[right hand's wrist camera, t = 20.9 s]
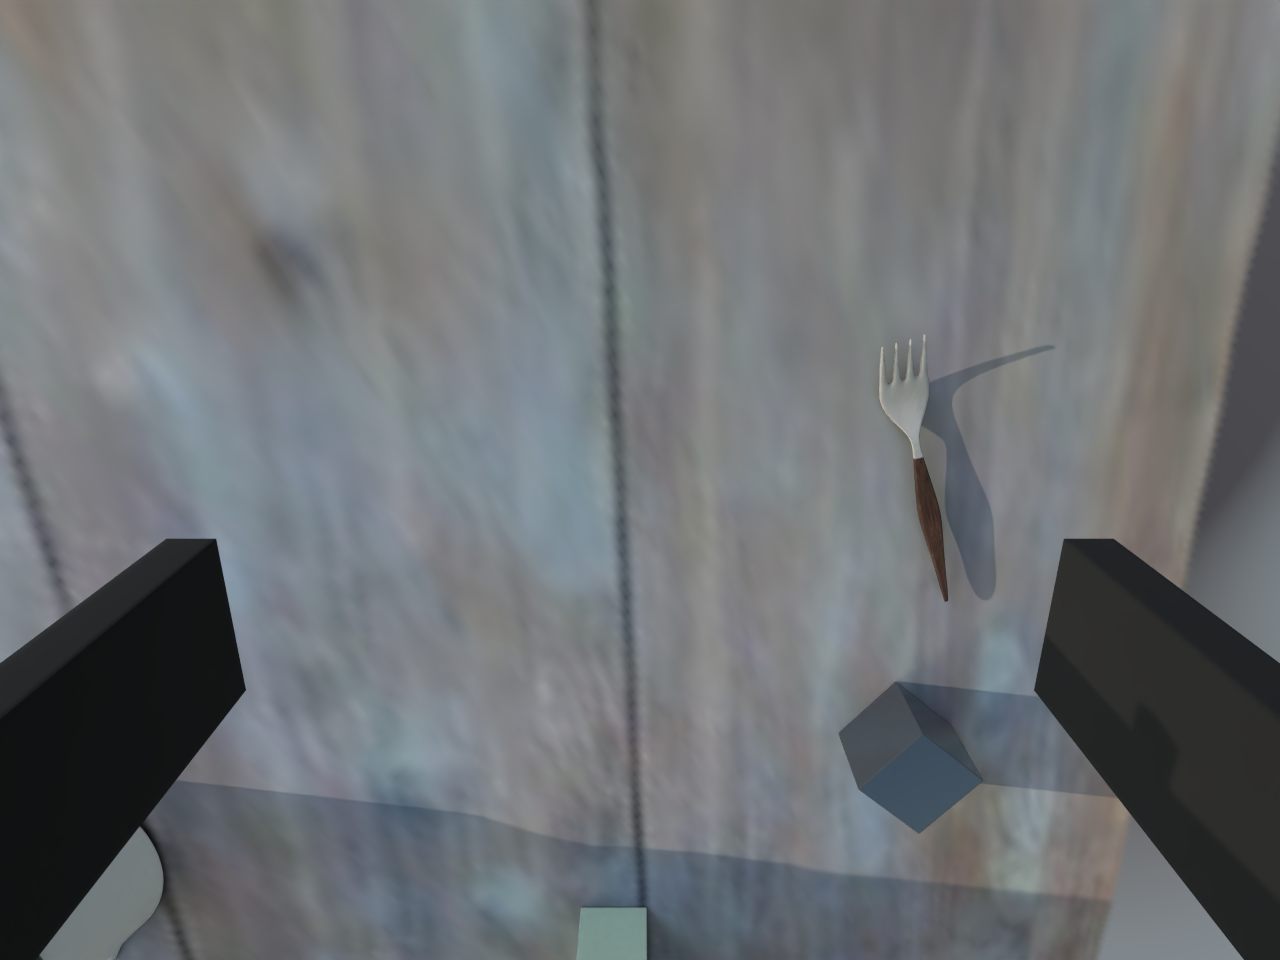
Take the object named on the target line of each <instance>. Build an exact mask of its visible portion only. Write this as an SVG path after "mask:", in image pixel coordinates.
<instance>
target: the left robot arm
mask: <svg viewBox="0 0 1280 960" xmlns="http://www.w3.org/2000/svg"><path fill="white" fill-rule="evenodd" d="M162 892H163V870H162V866H161V862H160V859H159V856H158V854H157V851H156V849H155V847H154V845H153V844H152V842H151V840H150V839H149V837H148V836H147V834H146V833H145V832H144V830H143V829H142V828H141V827H139V828H138V829H137V831H136V832H135V833H134V834H133V836H132V837H131V838H130V840H129V841H128V842H127V843H126V845H125V846H124V847H123V849H122V850H121V851H120V852H119V854H118V855H117V856H116V858H115V859H114V860H113V861H112V863H111V864H110V865H109V867H108V868H107V869H106V870H105V872H104V873H103V874H102V876H101V877H100V878H99V879H98V881H97V882H96V883H95V885H94V886H93V887H92V888H91V890H90V891H89V892H88V894H87V895H86V896H85V897H84V899H83V900H82V901H81V903H80V904H79V905H78V906H77V908H76V909H75V910H74V911H73V913H72V914H71V915H70V917H69V918H68V919H67V920H66V922H65V923H64V924H63V926H62V927H61V928H60V929H59V931H58V932H57V933H56V935H55V936H54V937H53V938H52V940H51V941H50V942H49V944H48V945H47V946H46V947H45V949H44V950H43V951H42V953H41V954H40V955H39V956H38V958H37V959H36V960H115V958H116V956H117V955H118V952H119V950H120V948H121V945H122V944H123V943H124V942H125V941H126V940H127V939H128V938H129V937H130V936H131V935H132V934H133V933H134V932H135V931H136V930H137V929H138V928H139V927H141V926H142V925H143V924H144V923H145V922H146V921H147V920H148V919H149V918H150V917H151V915H152V914H153V913H154V911H155V910H156V908H157V906H158V904H159V902H160V899H161V896H162Z"/></svg>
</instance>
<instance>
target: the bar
mask: <svg viewBox="0 0 1280 960" xmlns="http://www.w3.org/2000/svg"><path fill="white" fill-rule="evenodd" d="M577 960H647V908H646V907H630V908H581V912H580V925H579V937H578V949H577Z"/></svg>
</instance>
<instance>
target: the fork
mask: <svg viewBox="0 0 1280 960" xmlns="http://www.w3.org/2000/svg"><path fill="white" fill-rule="evenodd" d="M879 396H880V402H881V405H882V408H883V409H884V411H885V412H886V414H887V415H888V416H889V417H890V418H891V420H892V421H893V422H894V423H896V424H897V425H898V426H899V427H900V428H901V429H902V430H903V431H904V432H905V433H906V435H907V436H908V437H909V439H910V441H911V444H912V449H913V460H914V475H915V490H916V502H917V510H918V515H919V520H920V524H921V527H922V530H923V533H924V537H925V540H926V542H927V545H928V548H929V551H930V554H931V558H932V561H933V564H934V568H935V571H936V574H937V578H938V581H939V585H940V588H941V592H942V595H943V598H944V601H945V602H946V601H948V591H947V580H946V570H945V559H944V546H943V531H942V521H941V515H940V510H939V506H938V502H937V499H936V495H935V492H934V489H933V486H932V483H931V480H930V477H929V473H928V470H927V467H926V464H925V461H924V458H923V455H922V451H921V448H920V443H919V433H920V428H921V424H922V421H923V417H924V414H925V411H926V407H927V403H928V397H929V381H928V374H927V357H926V335H925V334H924V337H923V345H922V353H921V364H920V372H919V375H918V376H915V375H914V372H913V357H912V340H911V339H910V341H909V349H908V359H907V372H906V378H905V379H904V380H901V378H900V371H899V359H898V344H897V343H896V344H895V354H894V367H893V380H892V382H891V384H888V383H887V380H886V371H885V361H884V347H881V360H880V388H879Z"/></svg>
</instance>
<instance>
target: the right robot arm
mask: <svg viewBox="0 0 1280 960" xmlns="http://www.w3.org/2000/svg"><path fill="white" fill-rule="evenodd" d="M245 691H246V688H245V683H244V678H243V673H242V668H241V663H240V658H239V653H238V648H237V643H236V638H235V633H234V628H233V623H232V617H231V612H230V607H229V602H228V597H227V592H226V587H225V582H224V577H223V572H222V567H221V562H220V557H219V551H218V546H217V541H216V539H166V540H164V541H163V542H162V543H160V544H159V545H158V546H156V547H155V548H154V549H152V550H151V551H150V552H148V553H147V554H146V555H144V556H143V557H142V558H140V559H139V560H138V561H136V562H135V563H134V564H132V565H131V566H130V567H128V568H127V569H126V570H124V571H123V572H122V573H120V574H119V575H118V576H116V577H115V578H114V579H112V580H111V581H110V582H108V583H107V584H106V585H104V586H103V587H102V588H100V589H99V590H98V591H96V592H95V593H94V594H92V595H91V596H90V597H88V598H87V599H86V600H84V601H83V602H82V603H80V604H79V605H78V606H76V607H75V608H74V609H72V610H71V611H70V612H68V613H67V614H66V615H64V616H63V617H62V618H60V619H59V620H58V621H56V622H55V623H54V624H52V625H51V626H50V627H48V628H47V629H46V630H44V631H43V632H41V633H40V634H39V635H37V636H36V637H35V638H33V639H32V640H31V641H29V642H28V643H27V644H25V645H24V646H23V647H21V648H20V649H19V650H17V651H16V652H15V653H13V654H12V655H11V656H9V657H8V658H7V659H5V660H4V661H3V662H1V663H0V960H36V959H37V958H38V956H39V955H40V954H41V953H42V951H43V950H44V949H45V947H46V946H47V945H48V944H49V942H50V941H51V940H52V938H53V937H54V936H55V935H56V933H57V932H58V931H59V929H60V928H61V927H62V926H63V924H64V923H65V922H66V920H67V919H68V918H69V917H70V915H71V914H72V913H73V911H74V910H75V909H76V908H77V906H78V905H79V904H80V903H81V901H82V900H83V899H84V897H85V896H86V895H87V894H88V892H89V891H90V890H91V888H92V887H93V886H94V885H95V883H96V882H97V881H98V879H99V878H100V877H101V876H102V874H103V873H104V872H105V870H106V869H107V868H108V867H109V865H110V864H111V863H112V861H113V860H114V859H115V858H116V856H117V855H118V854H119V852H120V851H121V850H122V849H123V847H124V846H125V845H126V843H127V842H128V841H129V840H130V838H131V837H132V836H133V834H134V833H135V832H136V831H137V829H138V828H139V827H140V825H141V824H142V823H143V822H144V820H145V819H146V818H147V816H148V815H149V814H150V813H151V811H152V810H153V809H154V807H155V806H156V805H157V804H158V802H159V801H160V800H161V798H162V797H163V796H164V795H165V793H166V792H167V791H168V790H169V788H170V787H171V786H172V784H173V783H174V782H175V781H176V779H177V778H178V777H179V775H180V774H181V773H182V772H183V770H184V769H185V768H186V766H187V765H188V764H189V763H190V761H191V760H192V759H193V757H194V756H195V755H196V754H197V752H198V751H199V750H200V748H201V747H202V746H203V745H204V743H205V742H206V741H207V739H208V738H209V737H210V736H211V734H212V733H213V732H214V730H215V729H216V728H217V727H218V725H219V724H220V723H221V721H222V720H223V719H224V718H225V716H226V715H227V714H228V712H229V711H230V710H231V709H232V707H233V706H234V705H235V703H236V702H237V701H238V700H239V698H240V697H241V696H242V694H243V693H244V692H245ZM1034 691H1035V692H1036V693H1037V694H1038V696H1039V697H1040V698H1041V700H1042V701H1043V702H1044V703H1045V705H1046V706H1047V707H1048V709H1049V710H1050V711H1051V712H1052V714H1053V715H1054V716H1055V718H1056V719H1057V720H1058V721H1059V723H1060V724H1061V725H1062V727H1063V728H1064V729H1065V730H1066V732H1067V733H1068V734H1069V736H1070V737H1071V738H1072V739H1073V741H1074V742H1075V743H1076V745H1077V746H1078V747H1079V748H1080V750H1081V751H1082V752H1083V754H1084V755H1085V756H1086V757H1087V759H1088V760H1089V761H1090V763H1091V764H1092V765H1093V766H1094V768H1095V769H1096V770H1097V772H1098V773H1099V774H1100V775H1101V777H1102V778H1103V779H1104V781H1105V782H1106V783H1107V784H1108V786H1109V787H1110V788H1111V790H1112V791H1113V792H1114V793H1115V795H1116V796H1117V797H1118V798H1119V800H1120V801H1121V802H1122V804H1123V805H1124V806H1125V807H1126V809H1127V810H1128V811H1129V813H1130V814H1131V815H1132V816H1133V818H1134V819H1135V820H1136V822H1137V823H1138V824H1139V825H1140V827H1141V828H1142V829H1143V831H1144V832H1145V833H1146V834H1147V836H1148V837H1149V838H1150V840H1151V841H1152V842H1153V843H1154V845H1155V846H1156V847H1157V848H1158V850H1159V851H1160V852H1161V854H1162V855H1163V856H1164V858H1165V859H1166V860H1167V861H1168V863H1169V864H1170V865H1171V867H1172V868H1173V869H1174V870H1175V872H1176V873H1177V874H1178V876H1179V877H1180V878H1181V879H1182V881H1183V882H1184V883H1185V884H1186V886H1187V887H1188V888H1189V890H1190V891H1191V892H1192V893H1193V895H1194V896H1195V897H1196V899H1197V900H1198V901H1199V903H1200V904H1201V905H1202V906H1203V908H1204V909H1205V910H1206V911H1207V913H1208V914H1209V915H1210V917H1211V918H1212V919H1213V920H1214V922H1215V923H1216V924H1217V926H1218V927H1219V928H1220V929H1221V931H1222V932H1223V933H1224V935H1225V936H1226V937H1227V938H1228V940H1229V941H1230V942H1231V944H1232V945H1233V946H1234V947H1235V949H1236V950H1237V951H1238V953H1239V954H1240V955H1241V956H1242V958H1243V959H1244V960H1280V663H1278V662H1277V661H1276V660H1275V659H1273V658H1272V657H1271V656H1269V655H1268V654H1266V653H1265V652H1264V651H1262V650H1261V649H1260V648H1259V647H1257V646H1256V645H1254V644H1253V643H1252V642H1251V641H1249V640H1248V639H1246V638H1245V637H1244V636H1242V635H1241V634H1240V633H1238V632H1237V631H1236V630H1234V629H1233V628H1232V627H1230V626H1229V625H1228V624H1226V623H1225V622H1224V621H1222V620H1221V619H1220V618H1218V617H1217V616H1216V615H1214V614H1213V613H1212V612H1210V611H1209V610H1208V609H1206V608H1205V607H1204V606H1202V605H1201V604H1200V603H1198V602H1197V601H1196V600H1194V599H1193V598H1192V597H1190V596H1189V595H1188V594H1186V593H1185V592H1184V591H1182V590H1181V589H1180V588H1178V587H1177V586H1176V585H1174V584H1173V583H1172V582H1170V581H1169V580H1168V579H1166V578H1165V577H1164V576H1162V575H1161V574H1160V573H1158V572H1157V571H1156V570H1154V569H1153V568H1152V567H1150V566H1149V565H1148V564H1146V563H1145V562H1144V561H1142V560H1141V559H1140V558H1138V557H1137V556H1136V555H1134V554H1133V553H1132V552H1130V551H1129V550H1128V549H1126V548H1125V547H1124V546H1122V545H1121V544H1120V543H1118V542H1117V541H1116V540H1114V539H1064V541H1063V546H1062V551H1061V557H1060V562H1059V567H1058V572H1057V577H1056V582H1055V587H1054V592H1053V597H1052V602H1051V607H1050V612H1049V617H1048V623H1047V628H1046V633H1045V638H1044V643H1043V648H1042V653H1041V658H1040V663H1039V668H1038V673H1037V678H1036V683H1035V688H1034Z"/></svg>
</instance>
